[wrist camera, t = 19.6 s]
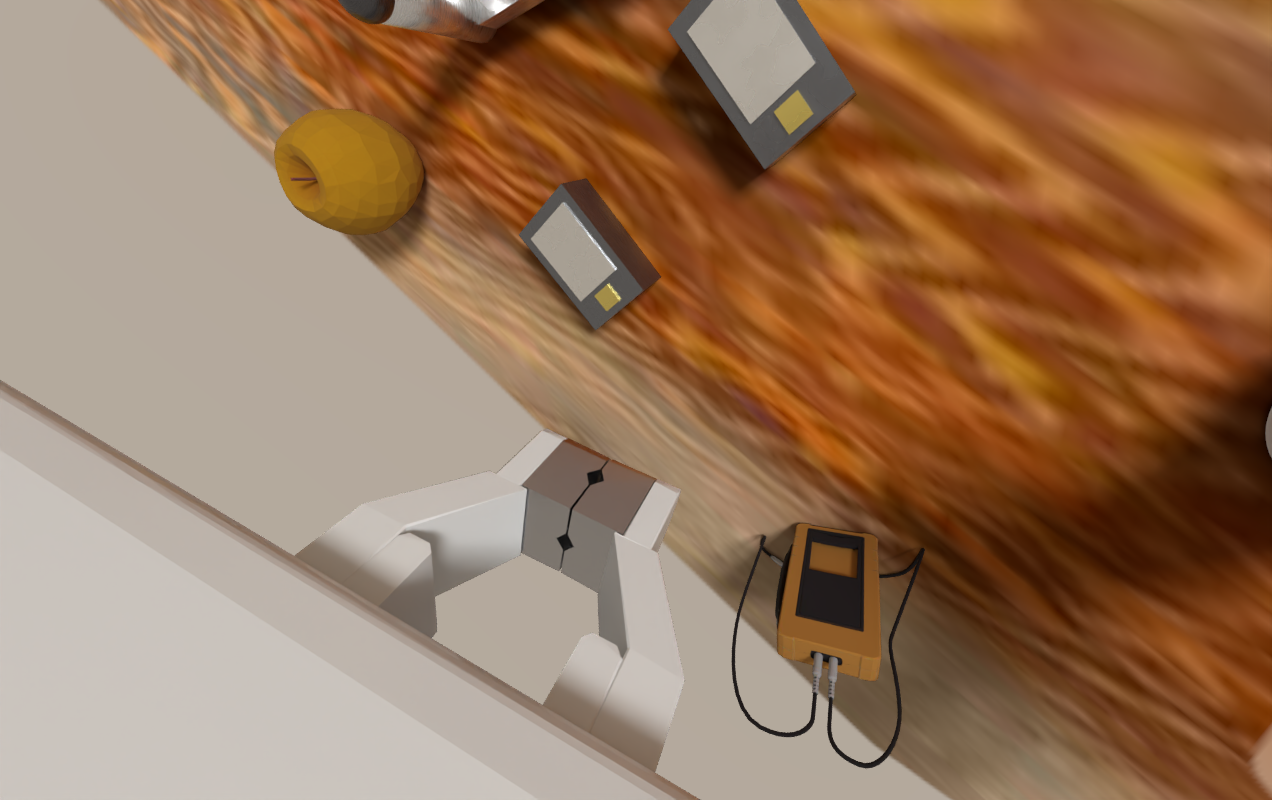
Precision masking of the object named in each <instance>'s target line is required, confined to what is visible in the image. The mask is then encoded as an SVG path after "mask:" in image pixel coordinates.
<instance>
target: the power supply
mask: <svg viewBox="0 0 1272 800" xmlns="http://www.w3.org/2000/svg"><path fill="white" fill-rule="evenodd" d="M519 236H520V237H521V238H522V240H523V241H524V242H525V243H526V244H527V246H528V247H529V248H530V249H531V251H532V252H533V253H534V254H535V256H536V257H537V258H538V259H539V261H540V262H541V263H542V264H543V266H544V267H545V268H546V269H547V271H548V272H549V273H550V274H551V276H552V277H553V278H554V279H555V281H556V282H557V283H558V284H559V286H560V287H561V288H562V289H563V290H564V292H565V293H566V294H567V295H568V297H569V298H570V299H571V300H572V302H573V303H574V304H575V305H576V307H577V308H578V309H579V310H580V312H581V313H582V314H583V315H584V317H585V318H586V319H587V320H588V322H589V323H590V324H591V325H592V327H593V328H594V329H595V330H597V329H598V328H599V327H600V326H602V325H603V324H604V323H606V322H607V321H608V320H609V319H611V318H612V317H613V316H614V315H616V314H617V313H618V312H619V311H621V310H622V309H623V308H624V307H625V306H627V305H628V304H629V303H630V302H631V301H633V300H634V299H635V298H636V297H638V296H639V295H640V294H641V293H642V292H644V291H645V290H646V289H647V288H648V287H650V286H651V285H652V284H653V283H654V282H656V281H657V280H658V279H659V278H661V276H660V275H659V273H658V272H657V271H656V269H655V268H654V267H653V265H652V264H651V263H650V262H649V260H648V259H647V258H646V256H645V255H644V254H643V252H642V251H641V250H640V248H639V247H638V246H637V244H636V243H635V242H634V241H633V239H632V238H631V237H630V235H629V234H628V233H627V231H626V230H625V229H624V227H623V226H622V225H621V223H620V222H619V221H618V220H617V218H616V217H615V216H614V214H613V213H612V212H611V210H610V209H609V208H608V206H607V205H606V204H605V202H604V201H603V200H602V198H601V197H600V196H599V195H598V193H597V192H596V191H595V189H594V188H593V187H592V185H591V184H590V183H589V181H588V180H587V179H582V180H577V181H572V182H568V183H563V184H561V185H560V186H559V187H558V188H557V190H556V191H555V192H554V193H553V194H552V196H551V197H550V198H549V199H548V200H547V202H546V203H545V204H544V205H543V206H542V208H541V209H540V210H539V211H538V212H537V214H536V215H535V216H534V217H533V218H532V220H531V221H530V222H529V223H528V224H527V226H526V227H525V228H524V229H523V230H522V232H521V233H520V234H519Z"/></svg>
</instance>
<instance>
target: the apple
mask: <svg viewBox="0 0 1272 800" xmlns="http://www.w3.org/2000/svg"><path fill="white" fill-rule="evenodd" d="M274 156H275V164H276V170H277V174H278V177H279V180H280V183H281V185H282V187H283V190H284V192H285V194H286V196H287V197H288V199H289V200H290V201H291V203H292V204H293V205H294V207H295V208H296V209H297V210H299V211H300V212H301V213H302V214H303V215H305V216H306V217H308V218H310V219H311V220H313V221H315V222H317V223H319V224H321V225H323V226H325V227H327V228H330V229H333V230H336V231H339V232H342V233H345V234H350V235H367V234H374V233H378V232H381V231H384V230H386V229H388V228H389V227H390V226H392V225H393V224H394V223H395V222H397V221H398V220H399V219H400V218H401V217H403V216H404V215H405V214H406V213H407V212H408V211H409V209H410V208H411V207H412V205H413V204H414V202H415V200H416V198H417V196H418V194H419V192H420V190H421V187H422V183H423V179H424V169H423V165H422V162H421V160H420V157H419V155H418V153H417V151H416V149H415V147H414V145H413V144H412V143H411V142H410V141H409V140H408V139H407V138H406V137H405V136H403V135H402V134H401V133H400V132H398V131H397V130H396V129H394V128H393V127H392V126H391V125H389V124H388V123H387V122H385V121H383V120H381V119H378V118H376V117H374V116H372V115H369V114H365V113H362V112H359V111H356V110H352V109H325V110H316V111H311V112H309V113H307V114H306V115H304V116H302V117H301V118H299V119H298V120H296V121H295V122H294V123H293V124H292V125H291V126H289V127H288V128H287V129H286V130H285V131H284V132H283V133H282V135H281V136H280V137H279V139H278V140H277V142H276V146H275V151H274Z"/></svg>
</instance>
